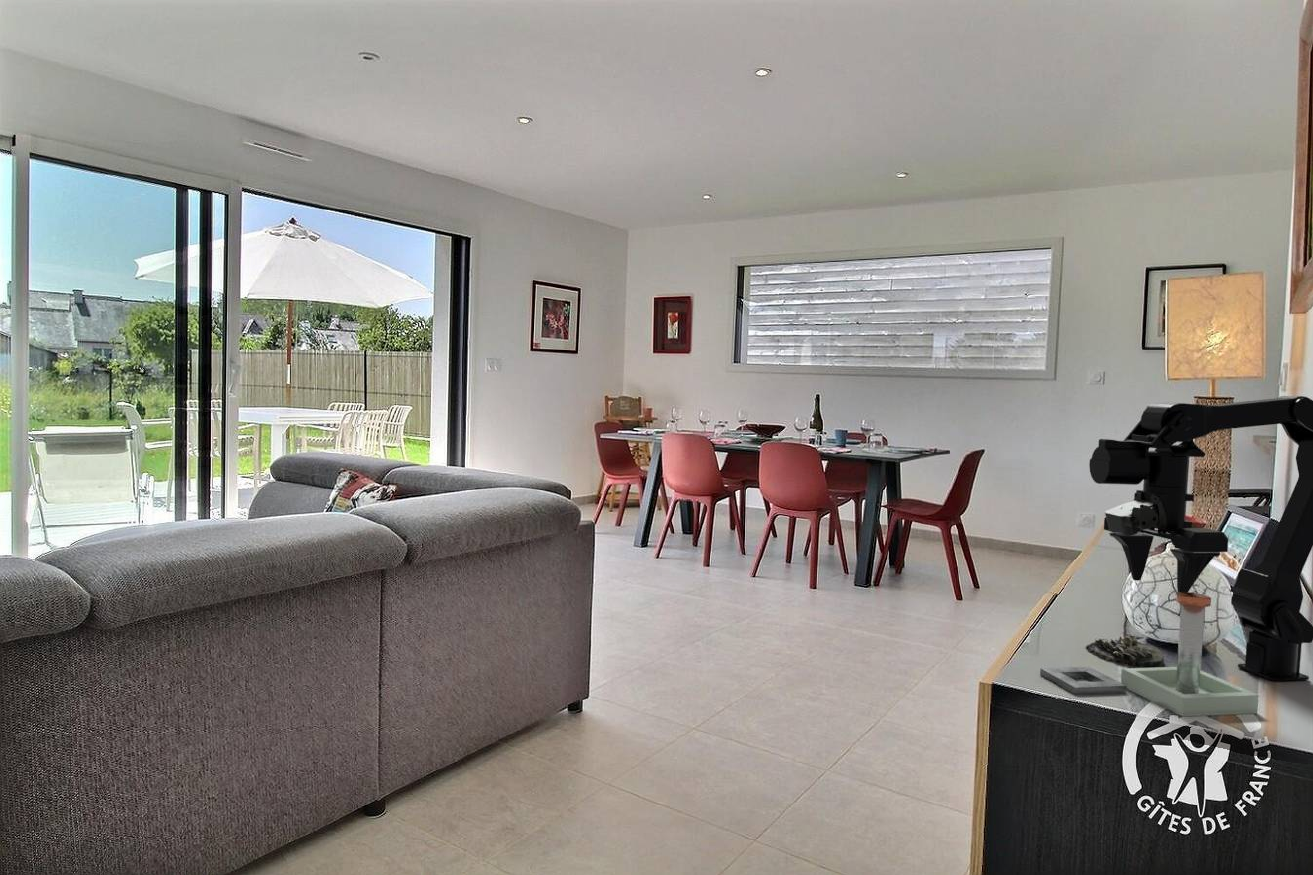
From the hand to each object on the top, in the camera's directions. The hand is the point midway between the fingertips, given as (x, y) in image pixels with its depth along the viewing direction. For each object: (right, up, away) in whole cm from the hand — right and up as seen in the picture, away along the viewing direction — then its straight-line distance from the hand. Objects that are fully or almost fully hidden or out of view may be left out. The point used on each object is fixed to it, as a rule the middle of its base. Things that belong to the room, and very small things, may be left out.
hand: (1158, 587), depth 127 cm
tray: (-3, -14, -11) cm, 17 cm away
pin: (-2, -13, -11) cm, 17 cm away
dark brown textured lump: (0, -13, +8) cm, 16 cm away
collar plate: (-14, -13, -6) cm, 20 cm away
